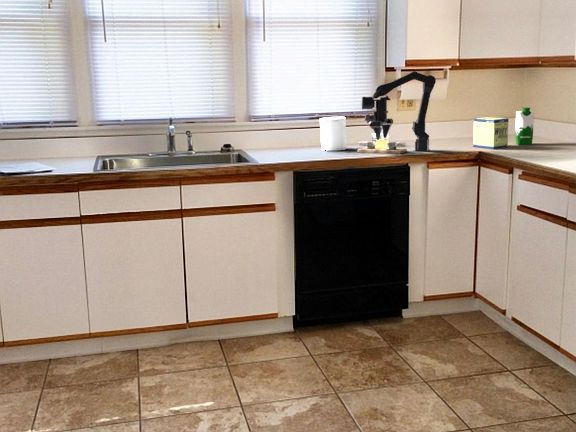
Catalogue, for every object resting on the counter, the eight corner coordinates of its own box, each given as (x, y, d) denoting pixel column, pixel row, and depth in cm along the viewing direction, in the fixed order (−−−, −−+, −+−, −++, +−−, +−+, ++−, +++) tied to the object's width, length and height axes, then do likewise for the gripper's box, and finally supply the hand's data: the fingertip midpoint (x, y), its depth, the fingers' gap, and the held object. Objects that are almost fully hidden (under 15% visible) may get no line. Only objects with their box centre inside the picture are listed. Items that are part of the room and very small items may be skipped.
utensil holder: (315, 150, 381) (314, 119, 377) (326, 147, 394) (326, 116, 390) (340, 151, 374) (339, 119, 370) (350, 148, 387) (350, 116, 383)
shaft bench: (408, 151, 363) (408, 141, 361) (401, 153, 354) (401, 143, 353) (363, 150, 376) (363, 140, 375) (355, 152, 367) (355, 142, 366)
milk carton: (517, 145, 369) (518, 108, 365) (513, 143, 378) (514, 107, 374) (534, 145, 368) (535, 107, 364) (530, 143, 377) (531, 106, 373)
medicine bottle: (371, 146, 391) (371, 125, 389) (380, 145, 395) (380, 124, 393) (380, 147, 386) (380, 125, 383) (389, 145, 390) (389, 124, 387)
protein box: (493, 149, 358) (494, 119, 355) (472, 147, 371) (473, 118, 368) (508, 147, 363) (509, 118, 359) (486, 145, 376) (487, 116, 373)
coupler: (379, 148, 368) (379, 138, 366) (387, 148, 365) (387, 139, 364) (376, 149, 364) (376, 139, 363) (384, 149, 362) (384, 139, 361)
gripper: (374, 107, 372) (374, 136, 375) (359, 110, 356) (360, 140, 360) (393, 107, 366) (393, 137, 370) (379, 110, 351) (379, 141, 354)
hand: (381, 138), depth 363 cm, fingers open, 9 cm apart
